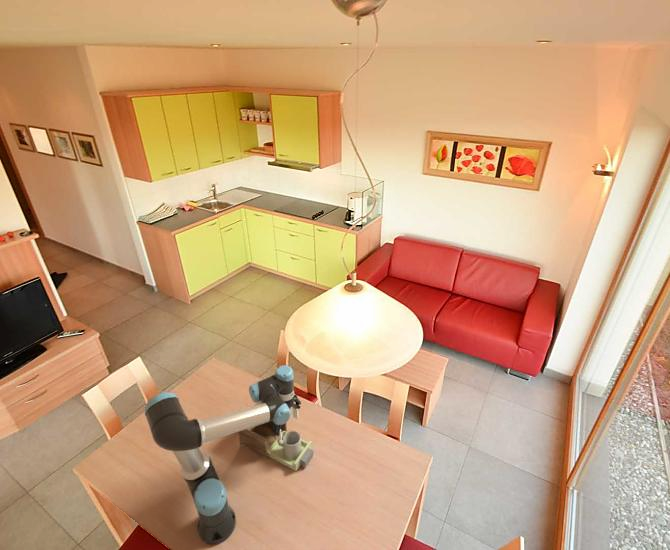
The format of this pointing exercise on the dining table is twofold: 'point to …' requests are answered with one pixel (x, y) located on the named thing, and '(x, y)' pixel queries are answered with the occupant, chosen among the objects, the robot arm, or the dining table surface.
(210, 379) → the dining table surface
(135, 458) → the dining table surface
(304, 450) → the tray
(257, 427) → the cubby
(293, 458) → the mug
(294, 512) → the dining table surface
